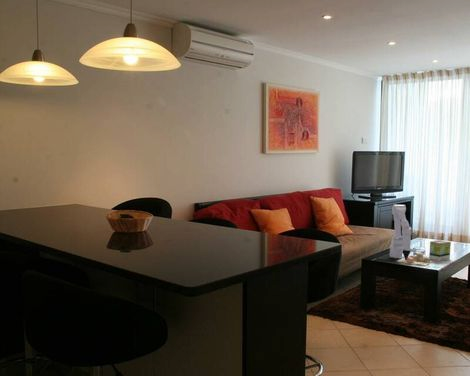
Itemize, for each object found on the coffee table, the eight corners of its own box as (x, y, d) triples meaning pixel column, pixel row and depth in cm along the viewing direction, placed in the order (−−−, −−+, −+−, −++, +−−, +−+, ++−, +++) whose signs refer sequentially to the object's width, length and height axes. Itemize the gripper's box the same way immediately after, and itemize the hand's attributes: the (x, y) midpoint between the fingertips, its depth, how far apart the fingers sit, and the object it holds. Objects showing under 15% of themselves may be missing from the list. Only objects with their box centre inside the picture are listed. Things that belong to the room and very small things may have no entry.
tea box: (440, 261, 379) (440, 243, 378) (428, 259, 387) (429, 241, 386) (450, 259, 388) (451, 241, 387) (438, 256, 396) (439, 239, 395)
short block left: (409, 260, 381) (409, 255, 381) (411, 259, 384) (411, 255, 384) (414, 261, 379) (414, 256, 379) (416, 260, 382) (416, 255, 382)
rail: (397, 261, 376) (397, 260, 376) (401, 260, 382) (401, 259, 382) (425, 266, 361) (425, 265, 361) (428, 264, 367) (428, 263, 367)
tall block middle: (416, 261, 378) (416, 253, 377) (418, 260, 381) (418, 252, 380) (421, 262, 375) (421, 254, 375) (423, 261, 378) (423, 253, 378)
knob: (406, 261, 372) (406, 258, 371) (408, 260, 375) (408, 257, 375) (411, 262, 369) (411, 258, 369) (413, 261, 372) (413, 257, 372)
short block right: (423, 262, 374) (423, 257, 374) (424, 261, 377) (425, 257, 377) (428, 263, 371) (428, 258, 371) (429, 262, 374) (430, 257, 374)
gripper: (395, 242, 375) (395, 259, 376) (413, 244, 365) (413, 262, 366) (399, 241, 380) (398, 258, 381) (417, 243, 370) (416, 260, 371)
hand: (406, 259), depth 374 cm, fingers closed
